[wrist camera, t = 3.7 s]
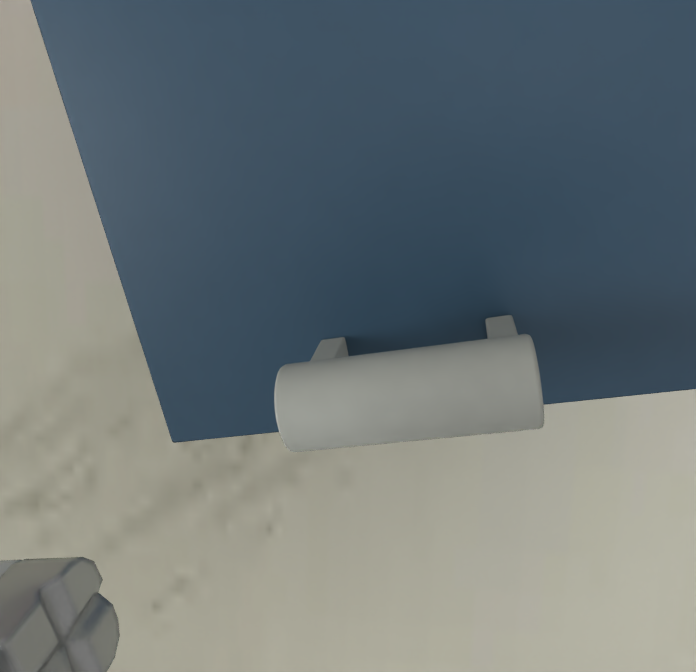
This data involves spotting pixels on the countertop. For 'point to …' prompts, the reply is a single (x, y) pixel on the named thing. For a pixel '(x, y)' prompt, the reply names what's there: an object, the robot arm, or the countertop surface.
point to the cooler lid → (390, 205)
